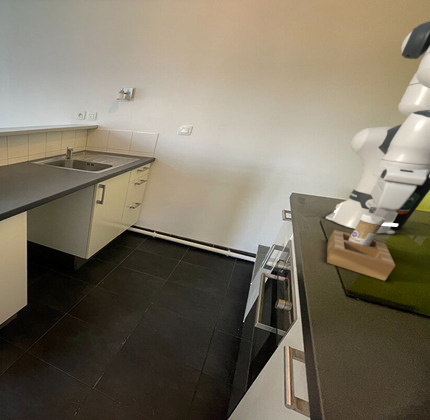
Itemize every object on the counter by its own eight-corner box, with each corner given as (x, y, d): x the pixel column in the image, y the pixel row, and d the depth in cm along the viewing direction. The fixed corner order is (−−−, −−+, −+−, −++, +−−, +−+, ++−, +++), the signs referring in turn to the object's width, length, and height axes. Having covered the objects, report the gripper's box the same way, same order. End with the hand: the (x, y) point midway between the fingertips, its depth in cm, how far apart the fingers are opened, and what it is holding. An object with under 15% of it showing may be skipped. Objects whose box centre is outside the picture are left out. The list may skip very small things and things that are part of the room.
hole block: (327, 242, 86) (334, 229, 84) (376, 255, 79) (384, 242, 77) (326, 262, 73) (334, 248, 71) (384, 280, 66) (395, 265, 64)
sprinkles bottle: (337, 250, 81) (358, 212, 76) (351, 250, 81) (373, 213, 76) (352, 257, 77) (375, 218, 71) (367, 258, 76) (391, 219, 71)
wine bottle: (406, 230, 99) (462, 157, 88) (385, 227, 100) (437, 154, 89) (387, 223, 106) (436, 154, 95) (367, 220, 107) (413, 151, 96)
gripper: (378, 165, 77) (355, 205, 83) (387, 174, 64) (360, 222, 70) (411, 169, 73) (385, 211, 78) (428, 180, 60) (395, 230, 65)
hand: (373, 216), depth 74 cm, fingers open, 8 cm apart
